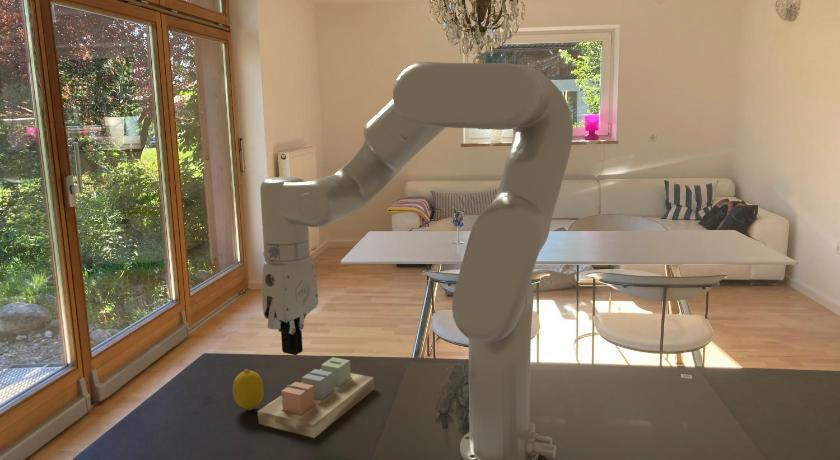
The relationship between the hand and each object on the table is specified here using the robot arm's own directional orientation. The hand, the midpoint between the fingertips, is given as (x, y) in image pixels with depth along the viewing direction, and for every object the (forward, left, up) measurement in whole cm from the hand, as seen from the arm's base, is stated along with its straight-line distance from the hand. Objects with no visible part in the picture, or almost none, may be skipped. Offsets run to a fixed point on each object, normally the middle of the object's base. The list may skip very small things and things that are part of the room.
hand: (292, 352), depth 112 cm
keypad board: (0, -6, -13) cm, 14 cm away
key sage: (0, -12, -11) cm, 16 cm away
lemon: (+11, 0, -13) cm, 17 cm away
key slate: (0, -6, -11) cm, 13 cm away
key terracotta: (0, 0, -11) cm, 11 cm away
